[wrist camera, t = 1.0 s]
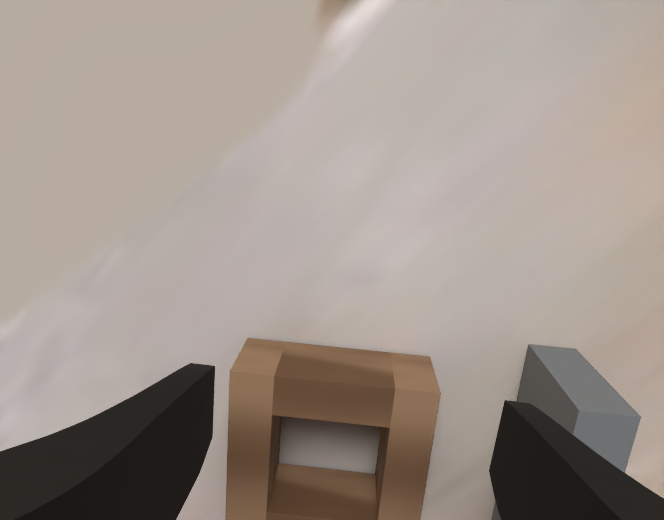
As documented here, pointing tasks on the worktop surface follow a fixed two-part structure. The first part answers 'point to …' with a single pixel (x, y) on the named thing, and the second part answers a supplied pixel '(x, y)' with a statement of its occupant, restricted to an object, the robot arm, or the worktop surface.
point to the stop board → (578, 402)
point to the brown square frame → (337, 406)
